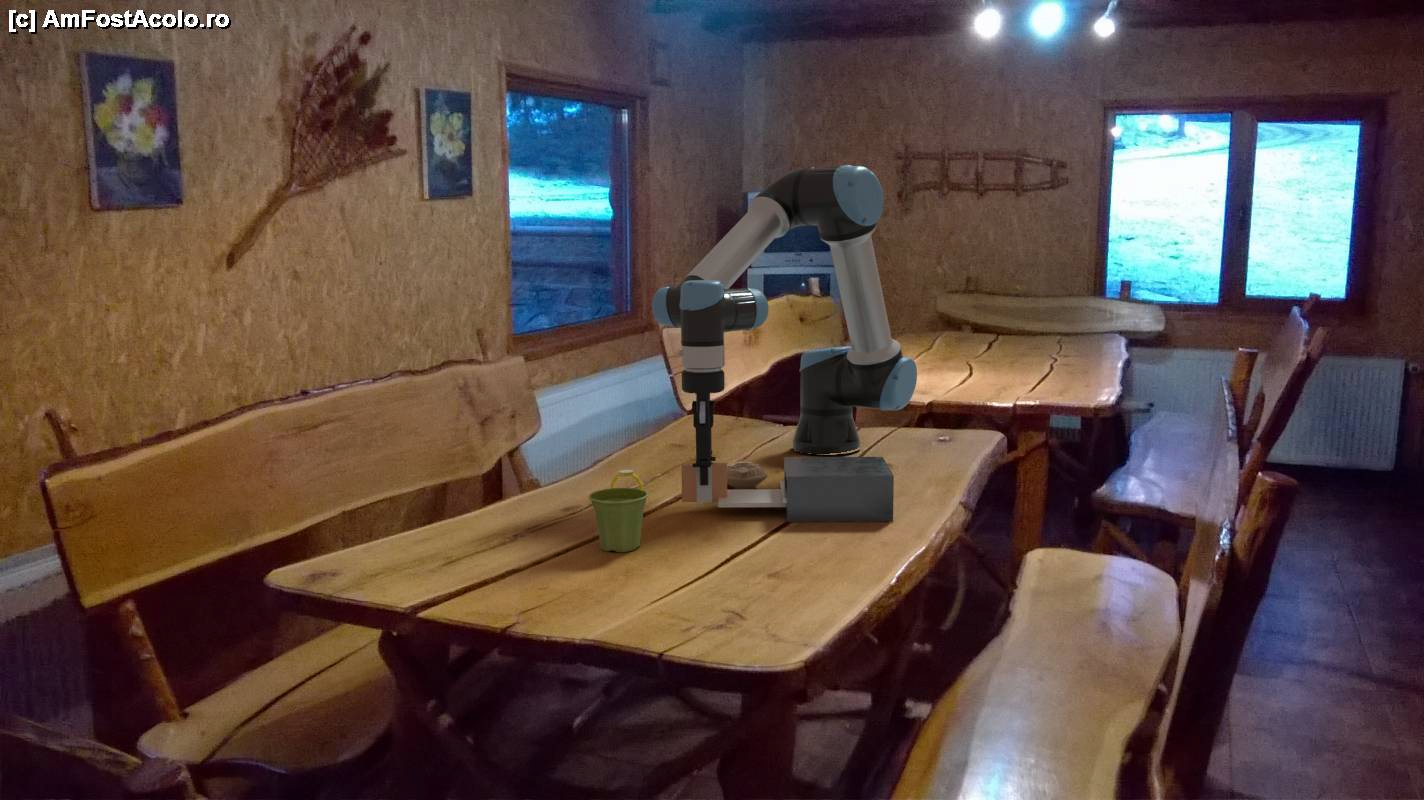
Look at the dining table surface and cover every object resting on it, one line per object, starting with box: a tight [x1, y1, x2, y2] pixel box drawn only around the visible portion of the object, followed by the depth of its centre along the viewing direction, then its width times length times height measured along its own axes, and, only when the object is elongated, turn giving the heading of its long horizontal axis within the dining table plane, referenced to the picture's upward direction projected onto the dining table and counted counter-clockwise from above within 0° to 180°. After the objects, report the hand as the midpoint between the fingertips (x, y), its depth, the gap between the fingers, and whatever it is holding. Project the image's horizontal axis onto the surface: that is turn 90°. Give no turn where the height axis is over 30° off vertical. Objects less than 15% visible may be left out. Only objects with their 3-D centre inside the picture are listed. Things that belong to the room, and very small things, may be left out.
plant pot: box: [588, 487, 649, 553], centre depth 178 cm, size 9×9×9 cm
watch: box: [610, 469, 644, 490], centre depth 208 cm, size 6×3×6 cm, turn 76°
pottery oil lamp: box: [727, 460, 769, 490], centre depth 219 cm, size 9×12×7 cm
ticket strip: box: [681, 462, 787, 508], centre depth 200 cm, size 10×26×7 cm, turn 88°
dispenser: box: [779, 456, 895, 523], centre depth 200 cm, size 16×19×8 cm
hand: (704, 499), depth 201 cm, fingers closed on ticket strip, 2 cm apart
